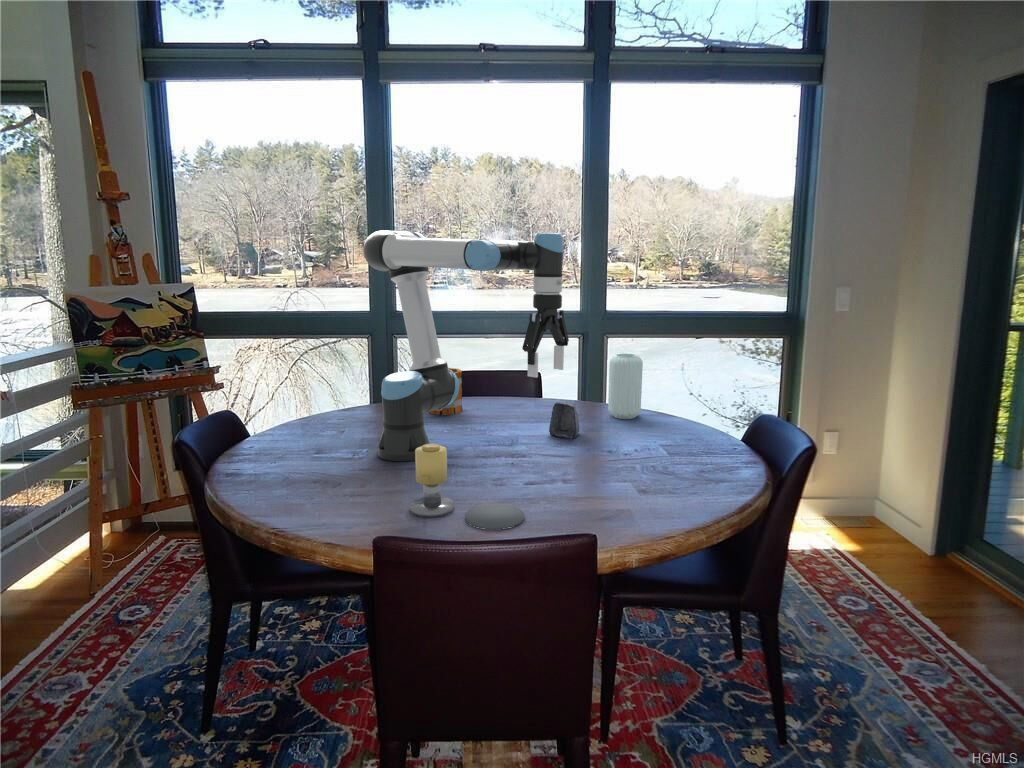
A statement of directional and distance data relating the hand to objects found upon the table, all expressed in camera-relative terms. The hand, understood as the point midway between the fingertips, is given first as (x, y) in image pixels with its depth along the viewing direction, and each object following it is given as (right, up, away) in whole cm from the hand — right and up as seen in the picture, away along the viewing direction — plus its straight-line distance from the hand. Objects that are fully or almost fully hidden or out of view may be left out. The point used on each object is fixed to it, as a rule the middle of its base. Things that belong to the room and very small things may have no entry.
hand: (545, 373), depth 175 cm
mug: (-34, -14, +63) cm, 73 cm away
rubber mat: (-13, -32, -31) cm, 47 cm away
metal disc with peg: (-27, -32, -27) cm, 50 cm away
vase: (+31, -15, +58) cm, 68 cm away
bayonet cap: (-27, -24, -28) cm, 46 cm away
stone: (+8, -19, +35) cm, 41 cm away
